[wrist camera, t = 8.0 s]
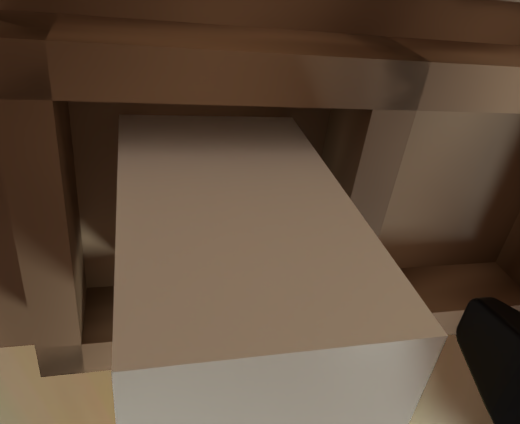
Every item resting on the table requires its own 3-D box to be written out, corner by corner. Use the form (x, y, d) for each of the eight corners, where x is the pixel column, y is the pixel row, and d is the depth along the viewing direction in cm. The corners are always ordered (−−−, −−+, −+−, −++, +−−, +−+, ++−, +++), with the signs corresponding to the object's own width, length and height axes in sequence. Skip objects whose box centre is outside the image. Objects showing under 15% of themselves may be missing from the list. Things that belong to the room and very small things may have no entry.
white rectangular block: (291, 117, 12) (447, 335, 6) (271, 249, 14) (372, 502, 8) (119, 114, 11) (110, 372, 5) (126, 257, 13) (126, 551, 7)
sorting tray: (750, -172, 11) (920, -188, 9) (515, 283, 19) (572, 341, 16) (-161, -389, 7) (-317, -537, 4) (4, 321, 14) (-20, 410, 12)
